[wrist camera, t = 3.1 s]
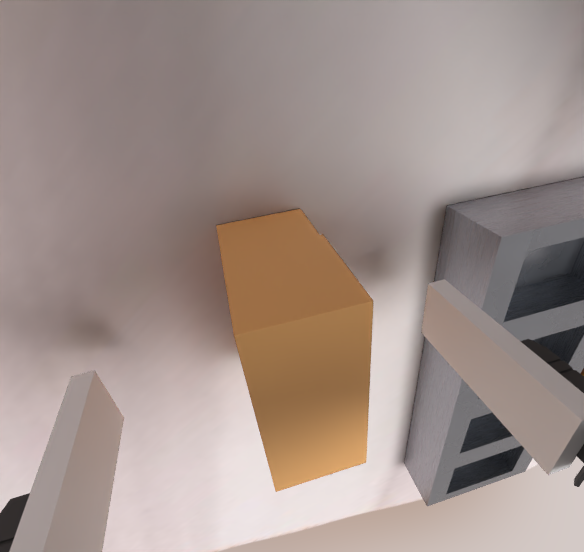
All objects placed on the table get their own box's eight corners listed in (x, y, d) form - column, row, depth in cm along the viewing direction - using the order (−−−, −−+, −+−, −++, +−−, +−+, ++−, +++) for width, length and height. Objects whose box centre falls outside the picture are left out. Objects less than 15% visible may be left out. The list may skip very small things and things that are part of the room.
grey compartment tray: (446, 205, 16) (501, 237, 13) (601, 173, 18) (681, 195, 15) (404, 463, 30) (427, 506, 27) (494, 433, 31) (524, 471, 28)
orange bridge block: (215, 220, 14) (233, 335, 8) (300, 204, 14) (373, 301, 9) (248, 356, 18) (275, 491, 13) (312, 340, 19) (366, 462, 13)
